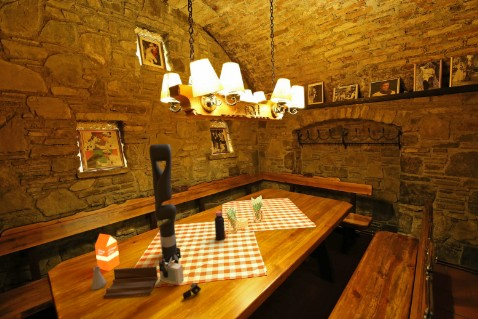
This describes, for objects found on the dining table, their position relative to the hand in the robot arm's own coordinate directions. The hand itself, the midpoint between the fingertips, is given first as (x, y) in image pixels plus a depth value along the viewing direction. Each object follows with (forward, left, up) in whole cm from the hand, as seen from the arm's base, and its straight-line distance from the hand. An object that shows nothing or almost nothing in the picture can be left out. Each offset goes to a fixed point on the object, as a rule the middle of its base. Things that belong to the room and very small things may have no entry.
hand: (171, 272), depth 120 cm
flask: (0, -38, -5) cm, 39 cm away
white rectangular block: (0, 0, -5) cm, 5 cm away
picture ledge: (+4, -19, -5) cm, 20 cm away
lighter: (+12, +12, -5) cm, 18 cm away
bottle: (-44, +24, -5) cm, 51 cm away
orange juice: (-18, -42, -5) cm, 46 cm away
